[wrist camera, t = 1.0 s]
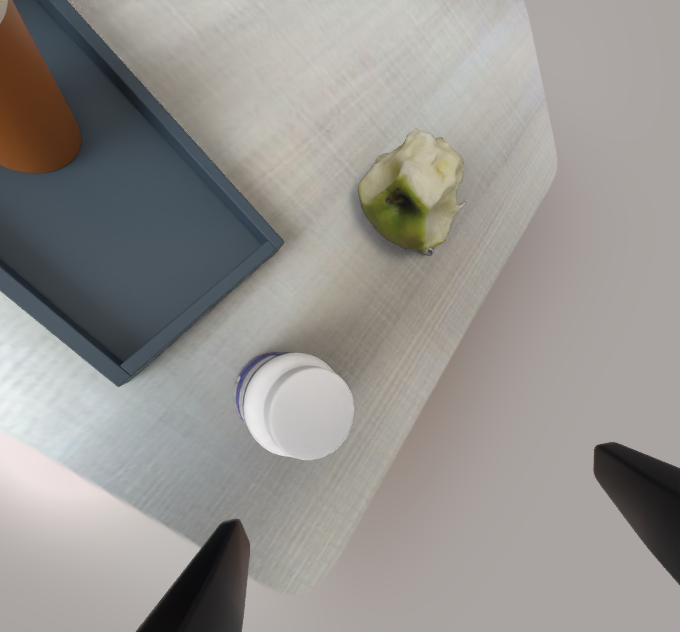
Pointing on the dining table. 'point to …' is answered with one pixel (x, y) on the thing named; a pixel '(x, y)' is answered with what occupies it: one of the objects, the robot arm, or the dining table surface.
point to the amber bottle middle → (31, 104)
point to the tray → (120, 214)
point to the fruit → (414, 192)
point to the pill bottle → (294, 404)
